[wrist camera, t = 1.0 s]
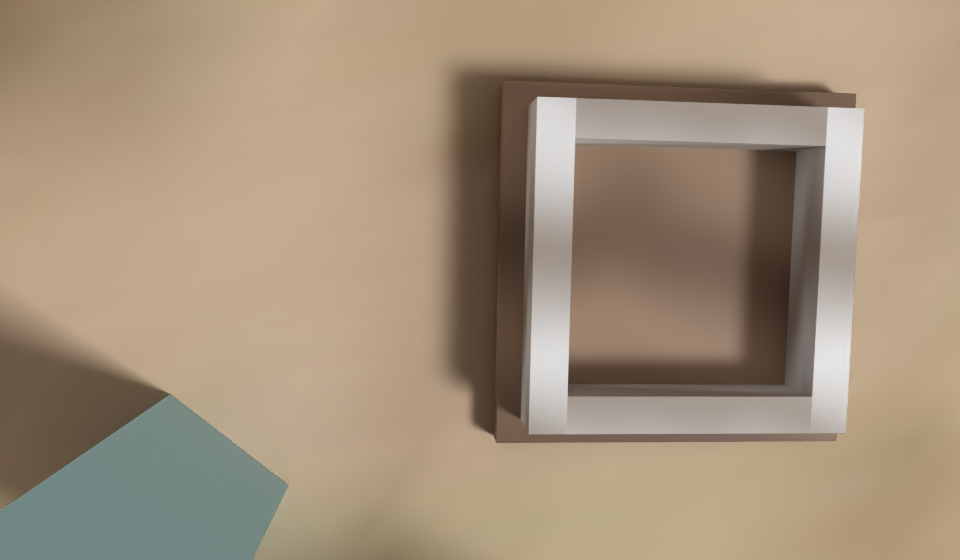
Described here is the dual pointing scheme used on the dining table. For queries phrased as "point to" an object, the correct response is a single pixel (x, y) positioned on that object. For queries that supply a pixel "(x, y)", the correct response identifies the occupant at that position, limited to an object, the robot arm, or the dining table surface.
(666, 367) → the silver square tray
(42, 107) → the dining table surface
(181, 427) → the block
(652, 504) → the dining table surface
